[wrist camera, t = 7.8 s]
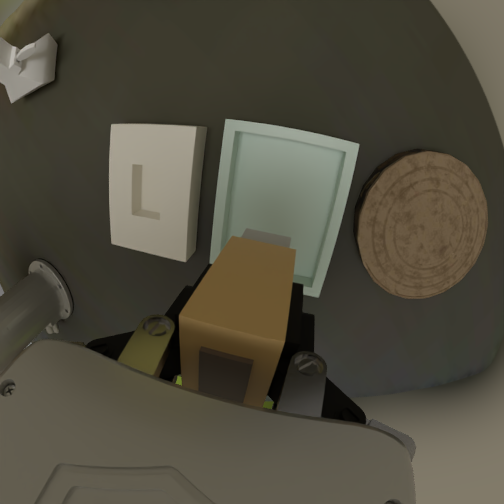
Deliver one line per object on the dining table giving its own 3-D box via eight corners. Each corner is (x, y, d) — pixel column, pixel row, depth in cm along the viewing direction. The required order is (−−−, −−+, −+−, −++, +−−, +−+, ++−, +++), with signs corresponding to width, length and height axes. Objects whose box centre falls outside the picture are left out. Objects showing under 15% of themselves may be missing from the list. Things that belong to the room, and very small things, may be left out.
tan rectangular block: (279, 309, 16) (255, 428, 9) (231, 298, 17) (182, 408, 9) (297, 233, 14) (284, 346, 7) (241, 221, 14) (175, 319, 7)
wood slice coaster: (321, 218, 28) (323, 228, 25) (425, 118, 21) (438, 117, 18) (403, 307, 30) (409, 322, 27) (491, 227, 23) (504, 236, 21)
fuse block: (195, 250, 32) (185, 262, 29) (124, 234, 33) (111, 243, 30) (207, 126, 25) (196, 126, 23) (127, 123, 26) (111, 124, 24)
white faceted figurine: (70, 78, 25) (-12, 80, 12) (20, 105, 27) (-45, 117, 15) (75, 28, 21) (1, 16, 9) (23, 61, 23) (-39, 65, 11)
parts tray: (317, 285, 31) (318, 297, 28) (215, 263, 32) (208, 273, 30) (354, 143, 24) (359, 144, 21) (232, 119, 25) (225, 118, 22)
